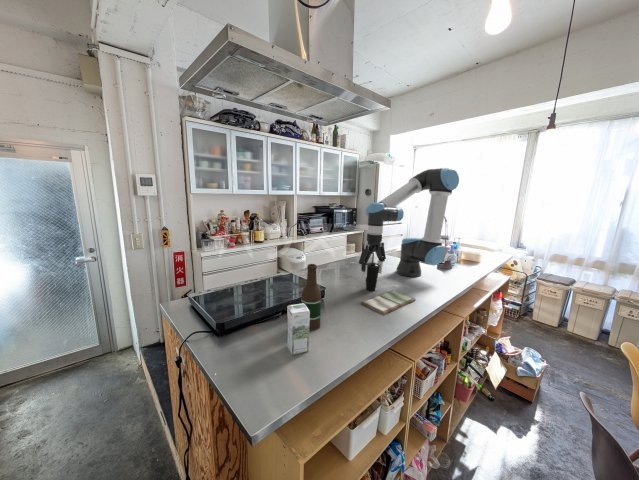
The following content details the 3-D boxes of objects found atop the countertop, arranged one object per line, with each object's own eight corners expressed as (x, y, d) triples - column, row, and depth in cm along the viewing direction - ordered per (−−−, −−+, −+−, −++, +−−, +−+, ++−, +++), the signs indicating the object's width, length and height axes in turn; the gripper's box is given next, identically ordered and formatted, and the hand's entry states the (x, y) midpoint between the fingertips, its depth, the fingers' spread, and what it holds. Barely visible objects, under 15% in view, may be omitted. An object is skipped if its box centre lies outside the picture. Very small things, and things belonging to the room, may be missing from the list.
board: (392, 292, 130) (392, 289, 130) (415, 300, 120) (415, 298, 120) (361, 303, 115) (361, 301, 115) (384, 315, 106) (384, 312, 105)
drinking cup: (374, 293, 127) (377, 255, 123) (360, 290, 132) (363, 253, 128) (380, 289, 133) (383, 252, 129) (367, 286, 138) (369, 250, 134)
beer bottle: (298, 322, 98) (298, 262, 93) (316, 319, 101) (318, 261, 96) (303, 332, 91) (305, 268, 86) (323, 329, 93) (326, 267, 89)
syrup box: (303, 342, 85) (303, 302, 82) (309, 352, 80) (310, 309, 77) (286, 345, 83) (286, 304, 80) (291, 356, 78) (292, 312, 75)
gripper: (383, 230, 137) (380, 269, 141) (352, 234, 122) (350, 277, 126) (395, 232, 131) (391, 272, 135) (364, 237, 117) (361, 281, 121)
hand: (371, 275), depth 131 cm, fingers open, 11 cm apart
